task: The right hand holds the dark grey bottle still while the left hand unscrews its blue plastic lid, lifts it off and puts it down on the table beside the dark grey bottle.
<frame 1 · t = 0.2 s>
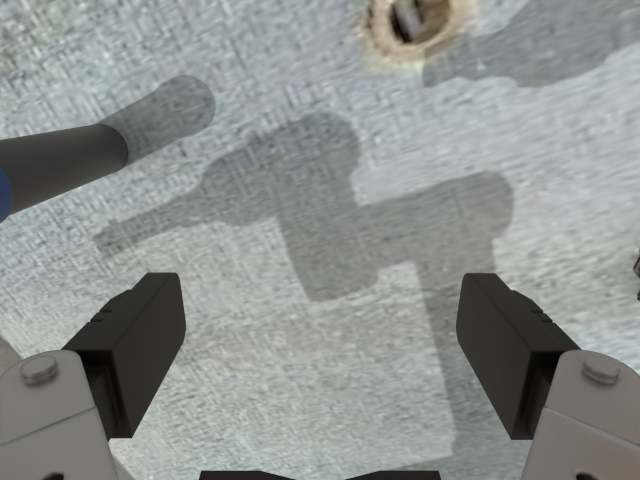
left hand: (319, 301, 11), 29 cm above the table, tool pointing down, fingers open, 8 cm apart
dark grey bottle: (103, 149, 39), on the table
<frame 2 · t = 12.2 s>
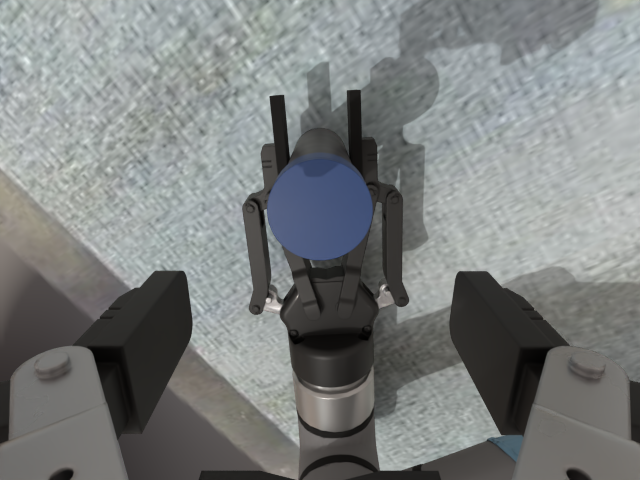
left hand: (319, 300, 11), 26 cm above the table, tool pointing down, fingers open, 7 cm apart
right hand: (315, 93, 28), fingers closed on dark grey bottle, 5 cm apart
dark grey bottle: (320, 154, 36), on the table, touching right hand
lid: (319, 210, 20), point 18 cm above the table, screwed on, not yet turned
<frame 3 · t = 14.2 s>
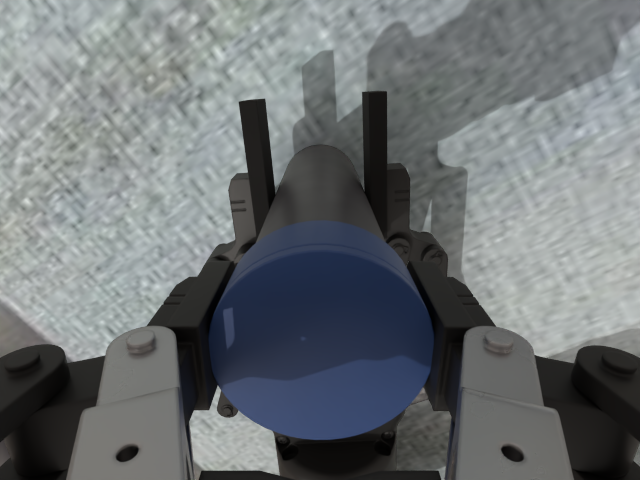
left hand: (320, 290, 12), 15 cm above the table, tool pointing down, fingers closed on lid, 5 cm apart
dark grey bottle: (320, 181, 26), on the table, touching right hand
lid: (321, 346, 9), point 18 cm above the table, screwed on, not yet turned, touching left hand
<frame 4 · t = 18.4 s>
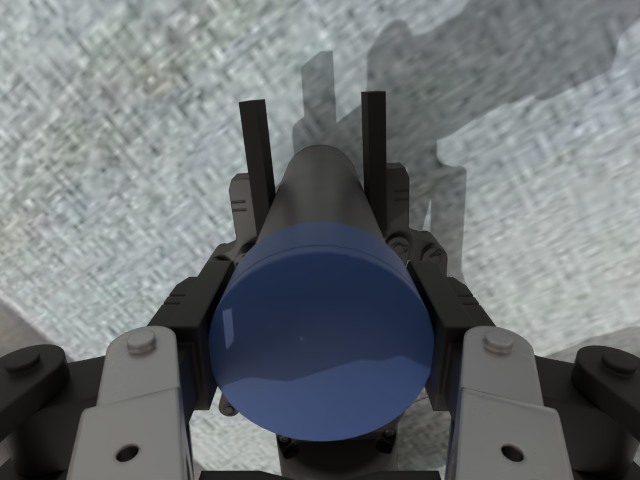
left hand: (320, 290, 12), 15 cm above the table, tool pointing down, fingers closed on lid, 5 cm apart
dark grey bottle: (320, 181, 26), on the table, touching right hand
lid: (321, 347, 9), point 18 cm above the table, turned 110° so far, risen 0.1 cm, still on its thread, touching left hand
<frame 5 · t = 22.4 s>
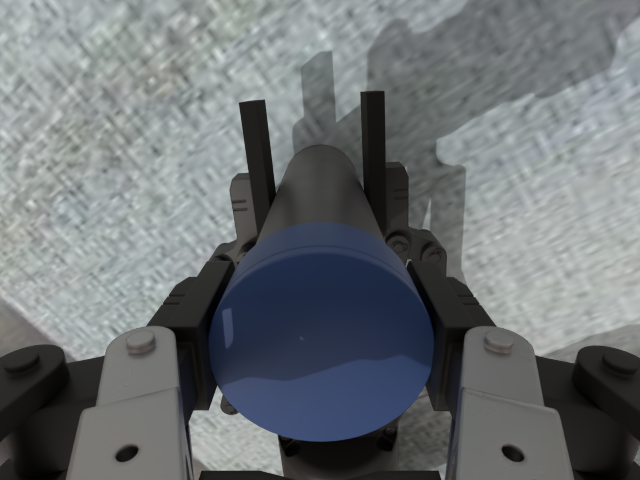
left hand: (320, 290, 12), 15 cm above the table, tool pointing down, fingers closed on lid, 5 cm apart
dark grey bottle: (320, 180, 26), on the table, touching right hand
lid: (321, 347, 9), point 18 cm above the table, turned 220° so far, risen 0.3 cm, still on its thread, touching left hand
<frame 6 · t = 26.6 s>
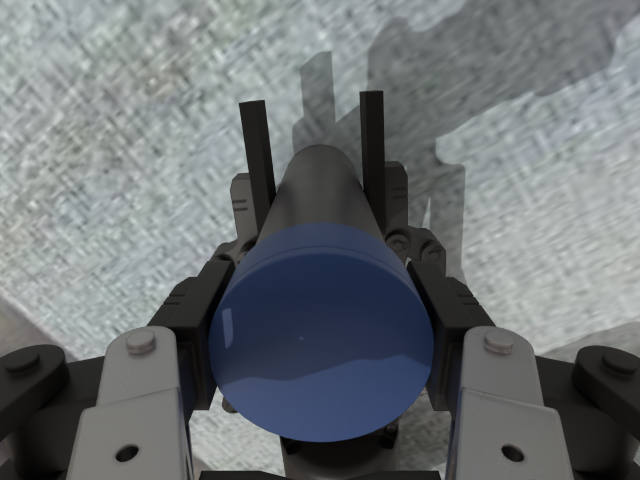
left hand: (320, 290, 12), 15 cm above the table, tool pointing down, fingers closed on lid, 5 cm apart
dark grey bottle: (320, 180, 26), on the table, touching right hand
lid: (321, 348, 9), point 18 cm above the table, turned 330° so far, risen 0.4 cm, still on its thread, touching left hand
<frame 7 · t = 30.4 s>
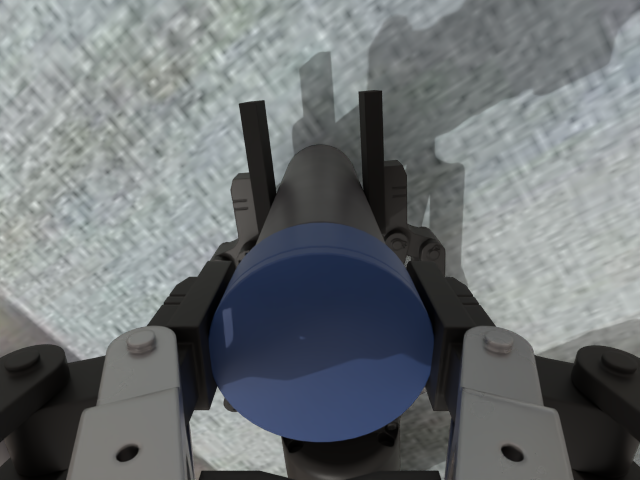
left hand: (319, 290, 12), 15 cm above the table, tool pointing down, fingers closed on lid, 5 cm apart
dark grey bottle: (320, 180, 26), on the table, touching right hand
lid: (321, 348, 9), point 18 cm above the table, turned 440° so far, risen 0.5 cm, still on its thread, touching left hand
when the left hand's fingers open (0 cm above the table, at t = 38.2 s): lid drops 1 cm, point 2 cm above the table.
when the right hand's fingers open (7 cm above the table, at t = 39.1 s): dark grey bottle stays where it is, on the table.
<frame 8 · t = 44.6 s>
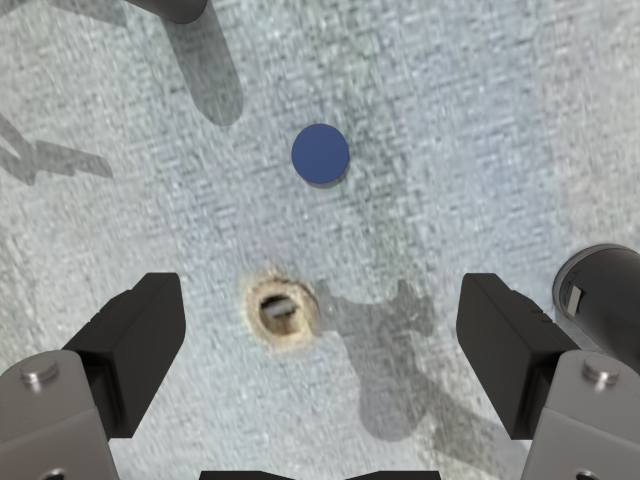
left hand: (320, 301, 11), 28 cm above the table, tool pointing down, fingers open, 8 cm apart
lid: (320, 154, 36), point 2 cm above the table, off its thread
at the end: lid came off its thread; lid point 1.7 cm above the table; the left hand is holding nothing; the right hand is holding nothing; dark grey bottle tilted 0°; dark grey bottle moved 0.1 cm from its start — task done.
